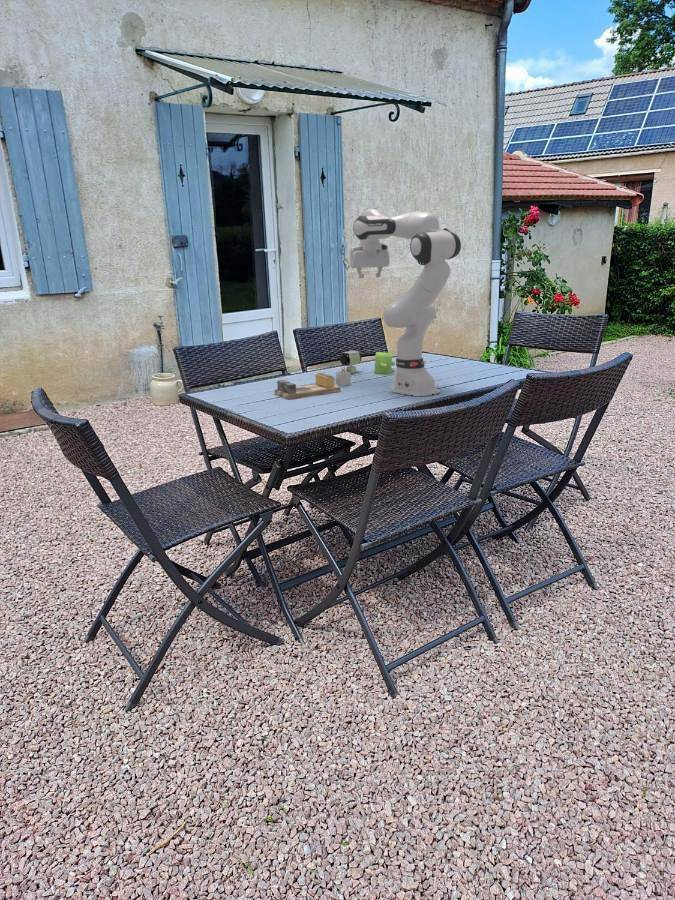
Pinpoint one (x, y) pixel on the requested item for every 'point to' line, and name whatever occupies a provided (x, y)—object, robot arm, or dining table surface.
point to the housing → (343, 378)
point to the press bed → (302, 390)
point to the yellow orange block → (324, 380)
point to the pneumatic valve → (350, 360)
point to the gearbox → (383, 363)
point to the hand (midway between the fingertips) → (369, 277)
